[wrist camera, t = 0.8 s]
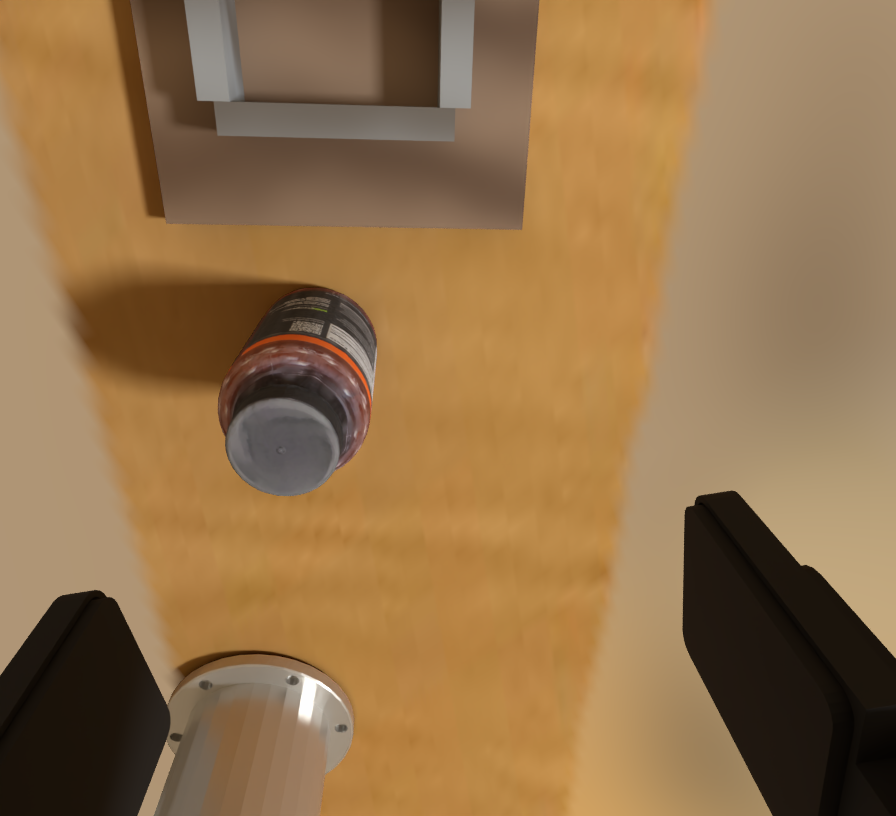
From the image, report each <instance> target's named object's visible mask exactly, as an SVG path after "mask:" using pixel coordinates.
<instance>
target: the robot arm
mask: <svg viewBox="0 0 896 816" xmlns="http://www.w3.org/2000/svg"><path fill="white" fill-rule="evenodd" d="M683 637H684V641H685V645H686V648H687V651H688V653H689V655H690V657H691V659H692V661H693V663H694V665H695V666H696V668H697V671H698V672H699V674H700V676H701V678H702V680H703V682H704V684H705V686H706V688H707V690H708V692H709V693H710V695H711V697H712V699H713V701H714V703H715V705H716V707H717V709H718V711H719V713H720V715H721V717H722V719H723V721H724V722H725V725H726V726H727V728H728V730H729V732H730V734H731V736H732V738H733V740H734V742H735V744H736V746H737V748H738V749H739V751H740V753H741V755H742V757H743V759H744V761H745V763H746V765H747V766H748V769H749V771H750V773H751V775H752V777H753V779H754V781H755V782H756V784H757V786H758V788H759V790H760V792H761V794H762V796H763V798H764V800H765V802H766V804H767V806H768V807H769V809H770V811H771V813H772V815H773V816H896V658H895V657H894V656H893V655H892V654H891V653H890V652H889V651H888V650H887V648H886V647H885V646H884V645H883V644H882V643H881V642H880V641H879V639H878V638H877V637H876V636H875V635H874V634H873V633H872V632H871V630H870V629H869V628H868V627H867V626H866V625H865V624H864V622H862V620H861V619H860V618H859V617H858V616H857V615H856V613H855V612H854V611H853V610H852V609H851V608H850V607H849V606H848V605H847V604H846V602H845V601H844V600H843V599H842V598H841V597H840V596H839V594H838V593H837V592H836V591H835V590H834V589H833V588H832V587H831V586H830V584H829V583H828V582H827V581H826V580H825V579H824V578H823V576H822V575H821V574H820V573H818V572H817V571H816V570H815V569H814V568H812V567H809V566H807V565H803V566H801V565H800V564H799V563H798V562H797V561H796V560H795V558H794V557H793V556H792V555H791V554H790V553H789V551H787V549H786V548H785V547H784V546H783V545H782V543H781V542H780V541H779V540H778V539H777V538H776V537H775V535H774V534H773V533H772V532H771V531H770V529H769V528H768V527H767V526H766V525H765V524H764V523H763V521H762V520H761V519H760V518H759V517H758V516H757V514H756V513H755V512H754V511H753V510H752V509H751V508H750V507H749V505H748V504H747V503H746V502H745V501H744V499H743V498H742V497H741V496H740V495H739V494H738V493H737V492H735V491H727V492H720V493H714V494H708V495H701V496H698V497H697V498H696V500H695V505H694V506H690V507H687V508H686V510H685V528H684V580H683ZM353 729H354V715H353V710H352V706H351V704H350V702H349V700H348V697H347V695H346V694H345V693H344V692H343V690H342V689H341V688H340V687H339V685H338V684H337V683H335V682H334V681H333V680H332V679H331V678H329V677H328V676H327V675H326V674H324V673H322V672H321V671H319V670H317V669H315V668H314V667H312V666H310V665H307V664H304V663H302V662H299V661H297V660H293V659H289V658H285V657H280V656H274V655H263V654H251V655H238V656H232V657H227V658H222V659H219V660H216V661H213V662H211V663H208V664H205V665H203V666H202V667H200V668H198V669H196V670H195V671H193V672H191V673H190V674H189V675H188V676H187V677H186V678H184V679H183V680H182V681H181V682H180V683H179V685H178V686H177V687H176V689H175V690H174V692H173V693H172V696H171V698H170V700H169V703H168V705H167V704H166V702H165V700H164V698H163V696H162V694H161V692H160V690H159V688H158V686H157V684H156V682H155V679H154V677H153V675H152V673H151V671H150V669H149V667H148V665H147V663H146V661H145V659H144V657H143V655H142V653H141V651H140V649H139V647H138V645H137V643H136V641H135V639H134V636H133V634H132V632H131V630H130V628H129V626H128V624H127V622H126V620H125V618H124V616H123V614H122V612H121V610H120V608H119V606H118V604H117V602H116V601H115V599H113V598H110V597H106V596H105V594H104V593H103V592H101V591H98V590H94V591H87V592H80V593H74V594H68V595H62V596H60V597H58V598H57V599H56V600H55V601H54V602H53V603H52V605H51V606H50V607H49V609H48V610H47V612H46V613H45V614H44V616H43V617H42V618H41V620H40V621H39V623H38V624H37V625H36V627H35V628H34V630H33V631H32V632H31V634H30V635H29V636H28V638H27V639H26V641H25V642H24V643H23V645H22V646H21V648H20V649H19V650H18V652H17V653H16V655H15V656H14V658H13V659H12V660H11V662H10V663H9V664H8V666H7V667H6V668H5V670H4V671H3V673H2V674H1V675H0V816H137V815H138V813H139V810H140V807H141V805H142V802H143V800H144V797H145V794H146V792H147V789H148V786H149V784H150V781H151V778H152V776H153V773H154V771H155V768H156V766H157V763H158V760H159V757H160V755H161V752H162V750H163V747H164V745H165V742H166V740H167V742H168V745H169V746H170V748H171V749H172V751H173V752H174V754H175V758H174V761H173V763H172V767H171V769H170V772H169V775H168V777H167V780H166V783H165V786H164V789H163V791H162V794H161V797H160V800H159V803H158V805H157V808H156V811H155V814H154V816H320V810H321V802H322V794H323V787H324V779H325V775H326V774H327V773H328V772H330V771H331V770H332V769H334V768H335V767H336V766H337V765H338V764H339V763H340V762H341V761H342V760H343V758H344V757H345V755H346V754H347V752H348V750H349V748H350V746H351V742H352V738H353Z"/></svg>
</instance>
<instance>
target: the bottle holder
mask: <svg viewBox="0 0 896 816" xmlns="http://www.w3.org/2000/svg"><path fill="white" fill-rule="evenodd" d="M130 3H131V9H132V15H133V22H134V28H135V34H136V40H137V46H138V52H139V58H140V65H141V71H142V77H143V83H144V89H145V95H146V101H147V108H148V114H149V120H150V126H151V132H152V138H153V144H154V151H155V157H156V163H157V169H158V175H159V181H160V187H161V194H162V200H163V206H164V212H165V218H166V224H221V225H280V226H339V227H397V228H456V229H515V230H522V223H523V210H524V196H525V183H526V170H527V157H528V143H529V130H530V117H531V103H532V90H533V77H534V64H535V50H536V37H537V24H538V10H539V0H130Z"/></svg>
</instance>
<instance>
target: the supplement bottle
mask: <svg viewBox="0 0 896 816" xmlns="http://www.w3.org/2000/svg"><path fill="white" fill-rule="evenodd" d="M376 359H377V339H376V334H375V330H374V328H373V325H372V323H371V321H370V319H369V317H368V316H367V315H366V313H365V312H364V310H363V309H362V308H361V307H360V306H359V305H358V304H357V303H355V302H354V301H353V300H352V299H350V298H349V297H347V296H346V295H344V294H341V293H338V292H336V291H333V290H329V289H326V288H303V289H300V290H295V291H293V292H290V293H288V294H286V295H285V296H283V297H282V298H280V299H279V300H277V301H276V302H275V303H274V304H273V305H272V306H271V307H270V309H269V310H268V311H267V313H266V314H265V316H264V317H263V318H262V319H261V321H260V322H259V324H258V325H257V327H256V329H255V330H254V332H253V333H252V335H251V337H250V338H249V339H248V341H247V343H246V344H245V346H244V347H243V349H242V350H241V352H240V354H239V355H238V356H237V358H236V359H235V361H234V363H233V364H232V366H231V368H230V369H229V371H228V373H227V374H226V376H225V378H224V380H223V383H222V386H221V389H220V393H219V398H218V415H219V421H220V425H221V428H222V432H223V433H224V435H225V437H226V440H225V447H226V453H227V456H228V459H229V461H230V463H231V465H232V467H233V469H234V470H235V471H236V473H237V474H238V475H239V476H240V477H241V478H242V479H243V480H244V481H245V482H247V483H248V484H249V485H251V486H252V487H254V488H256V489H258V490H260V491H262V492H265V493H269V494H273V495H277V496H294V495H301V494H304V493H307V492H310V491H312V490H314V489H316V488H318V487H320V486H321V485H322V484H323V483H325V482H326V481H327V480H328V478H329V477H330V476H331V475H332V473H333V472H334V471H335V470H337V469H339V468H341V467H343V466H344V465H345V464H346V463H347V462H349V461H350V460H351V459H352V457H353V456H355V455H356V453H357V452H358V450H359V449H360V447H361V445H362V443H363V441H364V439H365V437H366V435H367V432H368V428H369V423H370V417H371V409H372V399H373V388H374V378H375V368H376Z"/></svg>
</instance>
